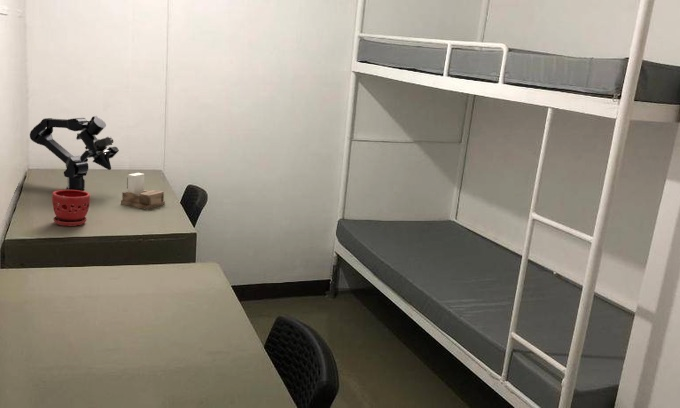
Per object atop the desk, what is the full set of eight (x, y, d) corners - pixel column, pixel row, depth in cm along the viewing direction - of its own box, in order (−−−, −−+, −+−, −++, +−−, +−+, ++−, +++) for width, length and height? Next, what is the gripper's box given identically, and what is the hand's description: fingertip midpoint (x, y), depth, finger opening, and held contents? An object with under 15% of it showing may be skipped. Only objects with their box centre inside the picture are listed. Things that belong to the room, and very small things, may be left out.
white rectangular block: (125, 198, 274) (126, 174, 271) (135, 196, 279) (136, 172, 277) (134, 200, 272) (134, 175, 269) (143, 198, 278) (144, 173, 275)
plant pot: (73, 230, 230) (73, 198, 227) (44, 223, 234) (44, 192, 231) (97, 222, 242) (97, 192, 239) (69, 216, 246) (69, 187, 243)
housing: (120, 203, 272) (121, 190, 270) (139, 199, 282) (139, 186, 281) (146, 209, 267) (147, 195, 265) (164, 204, 277) (165, 191, 276)
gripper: (85, 132, 268) (105, 161, 266) (115, 129, 285) (134, 156, 283) (71, 147, 272) (90, 176, 271) (102, 143, 289) (120, 170, 288)
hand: (110, 169), depth 278 cm, fingers closed
